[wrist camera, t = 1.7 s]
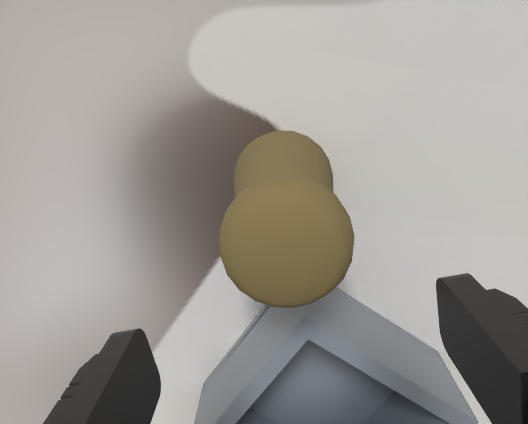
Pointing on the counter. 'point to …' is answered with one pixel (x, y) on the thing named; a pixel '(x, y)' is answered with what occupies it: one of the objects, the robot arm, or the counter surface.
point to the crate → (330, 371)
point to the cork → (285, 223)
